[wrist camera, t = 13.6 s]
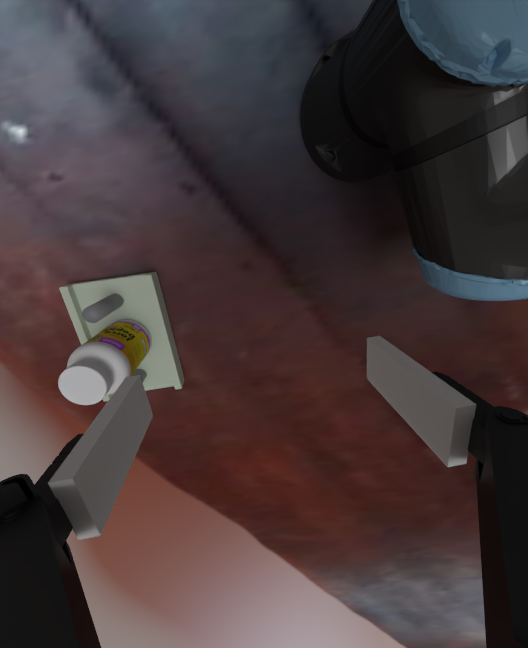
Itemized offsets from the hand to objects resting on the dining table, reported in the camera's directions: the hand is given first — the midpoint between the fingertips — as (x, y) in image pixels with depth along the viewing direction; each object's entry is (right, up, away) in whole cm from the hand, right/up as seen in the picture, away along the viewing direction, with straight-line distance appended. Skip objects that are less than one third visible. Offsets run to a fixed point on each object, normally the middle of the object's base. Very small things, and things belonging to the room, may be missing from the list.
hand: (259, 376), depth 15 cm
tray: (-20, +1, +26) cm, 33 cm away
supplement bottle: (-20, +1, +24) cm, 32 cm away
